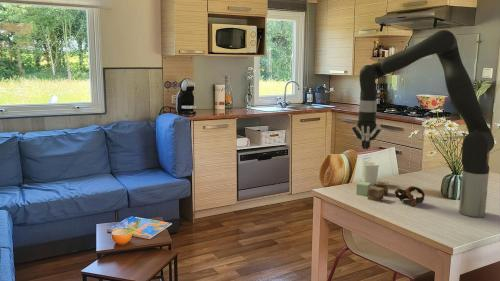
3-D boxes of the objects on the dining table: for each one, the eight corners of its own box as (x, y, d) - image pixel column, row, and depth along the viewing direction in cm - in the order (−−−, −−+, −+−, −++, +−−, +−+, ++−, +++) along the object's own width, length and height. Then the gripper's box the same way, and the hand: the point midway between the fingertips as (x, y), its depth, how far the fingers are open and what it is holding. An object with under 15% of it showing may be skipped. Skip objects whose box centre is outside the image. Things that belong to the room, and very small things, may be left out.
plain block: (370, 193, 204) (371, 183, 203) (367, 196, 200) (367, 185, 199) (359, 191, 206) (360, 181, 206) (356, 194, 202) (356, 183, 201)
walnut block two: (383, 199, 196) (383, 187, 195) (378, 201, 192) (379, 190, 191) (372, 196, 199) (373, 185, 198) (367, 199, 195) (368, 188, 194)
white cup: (360, 184, 218) (361, 165, 216) (361, 180, 225) (362, 161, 224) (377, 186, 216) (378, 166, 214) (377, 182, 223) (378, 162, 221)
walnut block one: (387, 192, 205) (388, 181, 204) (386, 195, 200) (387, 184, 199) (376, 191, 207) (377, 180, 206) (375, 194, 202) (376, 183, 201)
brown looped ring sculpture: (418, 200, 195) (425, 187, 190) (419, 216, 188) (427, 202, 183) (391, 192, 196) (398, 179, 191) (391, 207, 189) (398, 194, 184)
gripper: (385, 110, 196) (383, 149, 199) (355, 108, 203) (353, 146, 206) (380, 112, 190) (378, 151, 193) (350, 110, 197) (348, 148, 200)
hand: (365, 148), depth 199 cm, fingers closed
